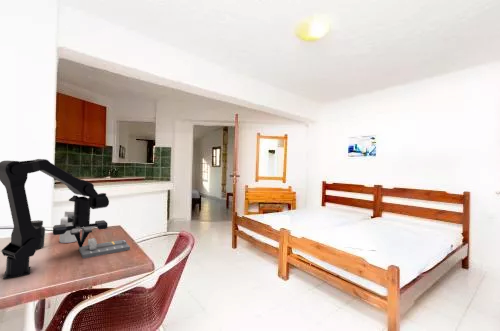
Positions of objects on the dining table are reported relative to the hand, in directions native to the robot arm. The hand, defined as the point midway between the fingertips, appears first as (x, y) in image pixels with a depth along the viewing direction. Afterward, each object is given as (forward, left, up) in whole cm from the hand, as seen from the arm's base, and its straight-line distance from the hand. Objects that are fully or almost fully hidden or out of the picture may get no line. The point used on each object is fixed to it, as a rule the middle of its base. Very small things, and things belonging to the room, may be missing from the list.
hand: (80, 247), depth 101 cm
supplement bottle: (+19, +15, -3) cm, 24 cm away
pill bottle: (+23, +2, -3) cm, 23 cm away
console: (0, -9, -3) cm, 10 cm away
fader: (0, -4, -1) cm, 4 cm away
